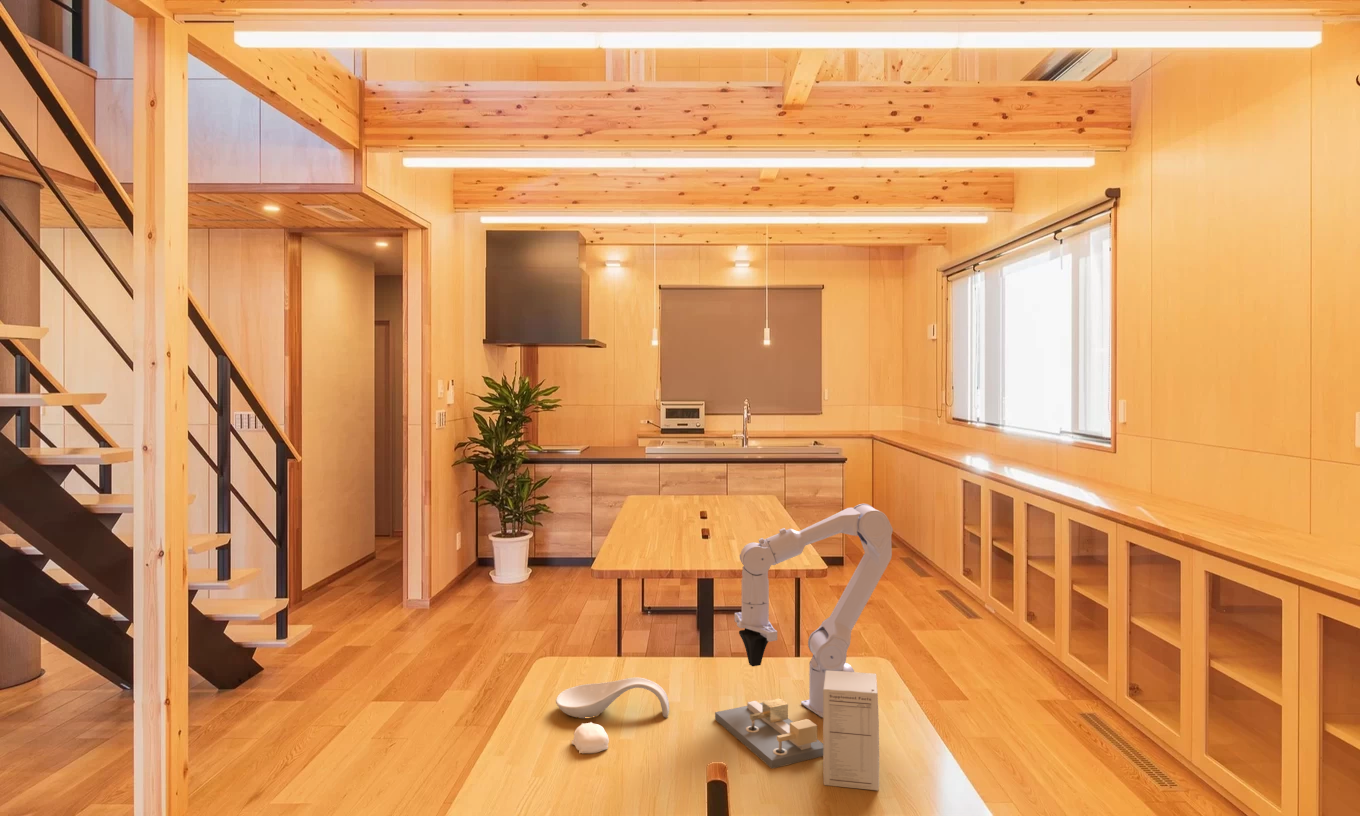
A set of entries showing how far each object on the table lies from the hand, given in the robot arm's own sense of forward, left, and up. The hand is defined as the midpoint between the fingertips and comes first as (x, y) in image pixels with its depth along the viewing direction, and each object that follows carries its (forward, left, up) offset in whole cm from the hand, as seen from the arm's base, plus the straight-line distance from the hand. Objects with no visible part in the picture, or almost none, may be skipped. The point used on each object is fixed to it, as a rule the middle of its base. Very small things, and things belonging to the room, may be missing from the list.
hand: (755, 664), depth 160 cm
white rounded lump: (+37, +1, -10) cm, 38 cm away
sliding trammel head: (+4, +11, -8) cm, 14 cm away
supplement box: (-1, +31, -10) cm, 32 cm away
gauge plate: (+4, +12, -9) cm, 16 cm away
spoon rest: (+28, -11, -10) cm, 32 cm away
